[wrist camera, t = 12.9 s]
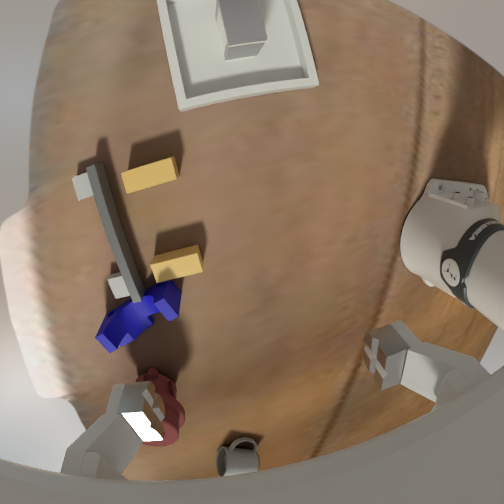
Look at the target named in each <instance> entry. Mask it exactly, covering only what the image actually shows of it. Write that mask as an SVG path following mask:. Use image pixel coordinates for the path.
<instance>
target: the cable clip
mask: <svg viewBox="0 0 504 504" xmlns="http://www.w3.org/2000/svg"><path fill="white" fill-rule="evenodd" d="M181 294H182V293H181V291H180V290H179V289H178V287H177V286H176V285H175V283H174V282H173V281H172V279H171V280H167V281H163V282H159V283H157V284H155V285H153V286H152V287H150V288H148V289H147V290H145V293H144V296H143V299H142V301H141V302H136V303H133V301H132V299H130V300H129V301H127V302H125V303H124V304H122V305H120V306H119V307H117V308H116V309H114V310H112V311H111V312H109V313H107V314H106V316H105V318H104V320H103V322H102V324H101V326H100V329H99V331H98V333H97V335H96V337H95V338H96V339H97V340H98V341H99V342H100V343H101V344H102V345H103V346H104V347H105V348H106V350H107V351H108V352H109V353H111V352H113V351H115V350H117V349H118V346H119V345H120V346H121V347H122V346H124V345H126V344H128V343H130V342H132V341H134V340H135V339H136V338H137V337H138V336H139V335H140V334H141V333H142V332H143V331H144V330H146V329H147V328H148V327H150V326H152V325H153V324H154V318H153V317H152V316H151V315H152V314H154V313H158V312H161V313H162V314H163V316H164V317H165V318H166V319H167V320H168V322H169V321H171V320H173V319H175V318H177V317H178V316H179V309H180V301H181Z"/></svg>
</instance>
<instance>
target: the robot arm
mask: <svg viewBox="0 0 504 504" xmlns="http://www.w3.org/2000/svg"><path fill="white" fill-rule="evenodd" d="M439 186H440V188H439ZM400 250H401V256H402V260H403V262H404V264H405V266H406V267H407V269H408V270H409V271H411V272H412V273H414V274H416V275H418V276H420V277H421V278H422V279H423V281H424V283H425V284H427V285H428V286H430V287H432V286H434V285H435V286H436V287H438V288H440V289H441V290H443V291H445V292H446V293H448V294H450V295H452V296H453V297H457V298H458V299H459V300H461V302H462V303H463V304H465V305H467V306H469V307H470V308H474V309H477V310H478V311H480V312H481V313H482V314H483V315H485V316H486V317H487V318H488V319H489V320H491V321H492V322H493V323H494V324H495V325H497V326H498V327H499V328H500V329H501V330H502V331H504V226H503V224H502V223H501V214H500V210H499V208H498V206H497V204H495V203H494V202H491V201H489V199H488V194H487V190H486V188H485V186H483V185H481V184H476V183H468V182H461V181H453V180H444V179H434V178H433V179H431V180H430V181H429V182H428V184H427V186H426V188H425V191H424V193H423V196H422V197H421V198H420V200H419V201H418V202H417V203H416V204H415V205H414V207H413V208H412V210H411V211H410V213H409V215H408V216H407V218H406V221H405V223H404V226H403V230H402V234H401V241H400ZM364 341H365V343H366V344H367V345H366V346H365V348H364V353H363V356H364V361H365V364H366V366H367V368H368V370H369V371H370V372H373V373H375V376H374V379H375V381H376V383H377V384H378V386H379V387H380V389H381V390H383V389H386V388H389V387H391V386H394V385H397V384H399V383H401V385H403V386H405V387H407V388H409V389H411V390H413V391H415V392H416V393H418V394H420V395H422V396H424V397H426V398H428V399H430V400H432V401H434V402H435V405H434V407H433V410H432V411H431V412H429V413H427V414H425V415H423V416H421V417H419V418H417V419H415V420H413V421H411V422H409V423H407V424H405V425H402V426H400V427H398V428H396V429H393V430H391V431H389V432H386V433H384V434H382V435H379V436H377V437H374V438H372V439H369V440H367V441H364V442H361V443H359V444H356V445H353V446H350V447H347V448H345V449H342V450H339V451H335V452H332V453H329V454H326V455H323V456H319V457H316V458H312V459H309V460H305V461H301V462H297V463H293V464H289V465H285V466H280V467H276V468H271V469H266V470H261V471H255V472H250V473H243V474H237V475H230V476H222V477H213V478H203V479H190V480H170V481H134V480H128V479H126V478H125V477H124V476H123V475H122V472H123V471H124V469H125V468H126V467H127V465H128V464H129V462H130V461H131V459H132V458H133V457H134V455H135V454H136V452H137V451H138V449H139V448H140V446H141V445H142V444H143V441H155V440H163V432H164V426H163V424H162V423H161V421H162V420H163V419H164V418H165V407H164V403H163V400H162V398H161V396H160V395H159V394H157V393H155V386H154V384H153V383H152V382H151V381H144V382H132V383H122V384H115V385H114V386H113V389H112V392H111V396H110V399H109V403H108V407H107V410H106V414H105V415H101V416H100V417H99V418H98V419H97V420H96V421H95V422H94V423H93V424H92V425H91V426H90V427H89V428H88V429H87V430H86V431H85V432H84V433H83V434H82V435H81V436H80V437H79V438H78V439H77V440H76V441H75V442H74V443H73V444H71V445H70V446H69V447H68V448H67V450H66V454H65V457H64V461H63V465H62V469H61V472H60V473H58V472H52V471H47V470H42V469H37V468H33V467H29V466H25V465H21V464H17V463H14V462H10V461H7V460H4V459H0V504H504V366H503V367H501V368H500V369H499V370H497V371H496V372H495V373H493V374H492V375H490V374H489V373H488V372H487V371H486V369H485V368H484V367H483V366H482V365H481V364H480V363H479V362H478V361H477V360H476V359H475V358H474V357H472V356H469V355H465V354H462V353H459V352H456V351H452V350H449V349H446V348H443V347H439V346H436V345H433V344H430V343H427V342H424V343H422V342H421V341H420V340H419V339H418V338H417V337H416V336H415V335H414V334H413V333H412V332H411V330H410V329H409V328H408V327H407V326H406V325H405V324H404V323H403V322H402V321H400V320H398V321H396V322H393V323H391V324H388V325H385V326H383V327H380V328H377V329H374V330H371V331H368V332H366V333H365V335H364Z"/></svg>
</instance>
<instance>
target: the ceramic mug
mask: <svg viewBox="0 0 504 504" xmlns="http://www.w3.org/2000/svg"><path fill="white" fill-rule="evenodd" d="M244 441H249V442H251V443H253V444H254V447H253V450H250V449H241V448H235V447H236V445H238V444H239V443H241V442H244ZM216 467H217V472H218V475H219V476H220V477H222V476H230V475H237V474H243V473H250V472H255V471H259V469H260V458H259V455H258V453H257V444H256V442H255V441H254V440H253V439H252V438H249V437H240V438H238V439H236V440H234V441H233V442H232V444H231V445H230V447H224V446H223V447H221V448H220V449H219V451H218V454H217V459H216Z"/></svg>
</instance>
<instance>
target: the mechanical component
mask: <svg viewBox="0 0 504 504" xmlns="http://www.w3.org/2000/svg"><path fill="white" fill-rule="evenodd" d="M144 381H151V382H152V383H153V384H154V386H155V393H157V394H159V395H160V396H161V398H162V400H163V403H164V407H165V418H164V419H163V420H162V421H161V423H162V424H163V426H164V432H163V440H155V441H143V444H145V445H149V446H167V445H170V444H173V443H175V442H176V441H177V440H178V437H179V429H180V428H181V427H182V426H183V424H184V422H185V411H184V408H183V407H182V405H181V404H180V403H179V402H178V401H177V400H176V391H177V389H176V385H175V384H174V382H173V381H172V380H171V379H169V378H168V377H166V376H163V375H161V374H159V372H158V370H157V369H156V368H149V370H148V373H147V374H143V375H141V376H139V377H138V378H137V380H136V382H144Z"/></svg>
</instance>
